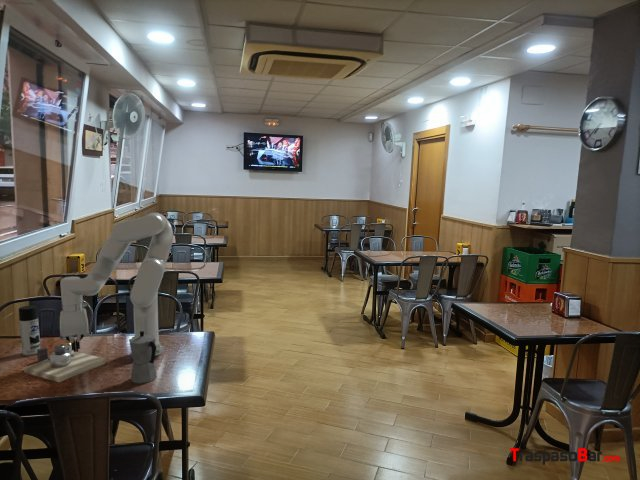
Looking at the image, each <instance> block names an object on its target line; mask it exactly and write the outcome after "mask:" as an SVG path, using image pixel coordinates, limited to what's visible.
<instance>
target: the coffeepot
mask: <svg viewBox="0 0 640 480" xmlns="http://www.w3.org/2000/svg"><path fill="white" fill-rule="evenodd" d="M128 342H129V346H130V351H131V357H132V359H133V362H132V367H131V368H132V369H131V377H130V380H131V382H132V383H134V384H148V383H150V382H153V381H154V380H156V379H157V372H156V367H155V363H154V362H155V357H156V356H155V353H156V345H155V337H154V336H149V335H144V331H141V332H140V336H135V335H134V336H131V338H129V339H128Z"/></svg>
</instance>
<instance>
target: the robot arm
mask: <svg viewBox="0 0 640 480" xmlns="http://www.w3.org/2000/svg"><path fill="white" fill-rule="evenodd" d="M172 227H173V226H172V224H171V223H170V221H169V220H168V219H167V218H166V217H165V216H164V215H163V214H162V213H159V212H150V213H149V214H147V215H144V216H140V217H136V218H132V219H130V220H129V219H128V220H127V219H126V220H125V219H124V220H121V221H119V222H117V223H116V224H115V225H114V226H113V228H112V230H111V231H112V232H111V233H110V234H109V237H108V238H107V240H106V241H105V242H104V244H103V245H102V247H101V248H100V251H99V253H98V254H99V255H98V258H97V260H96V261H95V264H94V265H93V267H92V269H91V270H90V271H89V273H88V274H87V276H86V277H83V278H81V277H80V276H65V277H63V278H61V279H60V293H61V297H60V298H61V308H62V310H61V311H60V312H59V313H60V314H59V334H60V335H59V339H60V340H66V341H68V343H71V346H72V351H74V352H79V350H80V349H81V344H80V342H81V341H82V340H83V338H85V337H88V336H90V331H89V319H88V315H87V309H86V308H85V307H88V302H84V299H83V296H95V295H97V294H98V293H99V292H100V291H101V289H102V288H103V287H104V286H105V284H106V283H107V281H108V280H109V278H110V276H111V275H112V273H113V272H114V270H115V268H116V267H117V266H118V264H120V262H121V260H122V259H123V258H124V257H123V256H124V255H125V254H126V252H127V250H128V249H129V247H130V246H131V244H132V242H136V241H139V240H143V239H146V238H150V237H151V240H150V243H149V245H148V250H147V252H146V254H145V257H144V259H143V260H142V262H141V264H140V266H139V268H138V271H137V273H136V276H135V280H134V282H133V285H132V288H131V290H130V294H129V299H130V301H131V303H132V304H133V327H134V330H133V331H134V332H133V333H134V336H140V332H141V331H144V335H149V336H154V337H155V345H156V353H155V357H156V356H159V355H161V354H163V352H164V351H165V350H166V349H165V346H162V344H161V343H162V342H161V341H160V339H159V337H160V334H159V333H160V332H159V308H158V303H159V302H158V291H159V289H160V286H161V283H162V279H163V278H164V273H165V270H166V266H167V265H166V264H167V261H168V258H169V255H170V252H171V248H172V245H173V240H174V232H173V231H174V230H173V228H172ZM74 336H76V339H74Z"/></svg>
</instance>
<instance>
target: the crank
mask: <svg viewBox="0 0 640 480" xmlns="http://www.w3.org/2000/svg"><path fill="white" fill-rule="evenodd" d="M53 347H54V351H53V352H51V353H50V354H49V358H50V366H52V367H61V366H66V365H68V364H70V363H71V353H72V351H73V350H72V346H71V343H70V342H65V344H62V343H61V344H57V345H54V346H53Z"/></svg>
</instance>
